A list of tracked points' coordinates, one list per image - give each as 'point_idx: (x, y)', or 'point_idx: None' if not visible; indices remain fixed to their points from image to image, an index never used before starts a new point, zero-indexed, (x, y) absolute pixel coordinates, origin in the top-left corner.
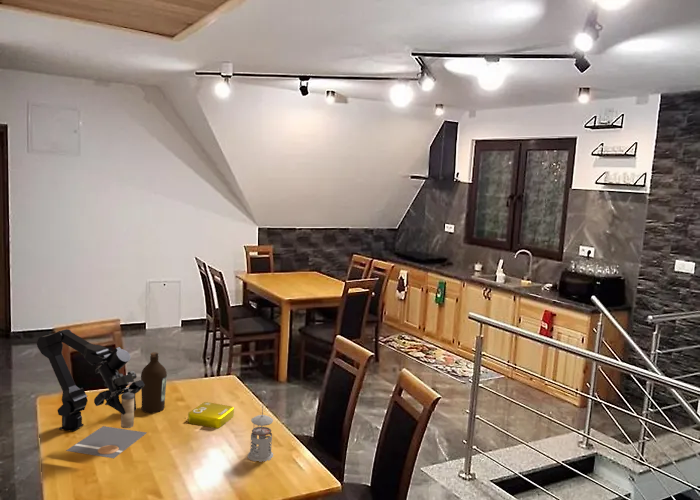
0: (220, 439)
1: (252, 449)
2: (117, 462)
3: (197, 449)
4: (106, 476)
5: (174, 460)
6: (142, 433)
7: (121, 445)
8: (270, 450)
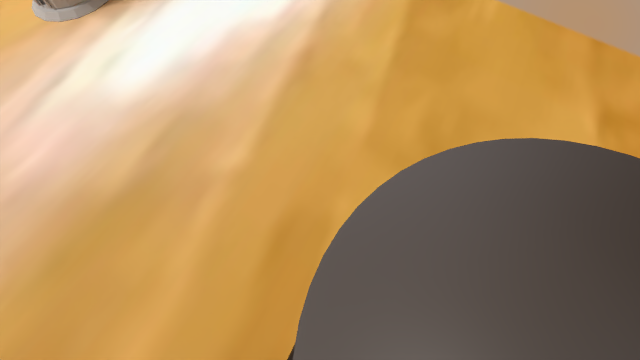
0: (30, 135)
1: (63, 2)
2: None
3: (158, 116)
4: (561, 126)
5: (280, 93)
6: None
7: None
8: None
